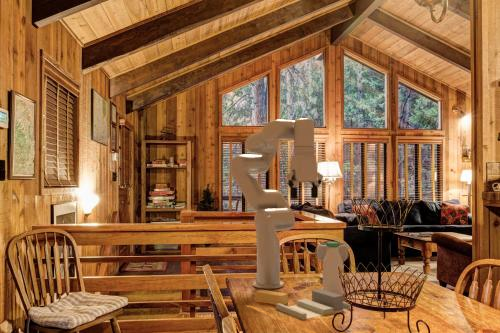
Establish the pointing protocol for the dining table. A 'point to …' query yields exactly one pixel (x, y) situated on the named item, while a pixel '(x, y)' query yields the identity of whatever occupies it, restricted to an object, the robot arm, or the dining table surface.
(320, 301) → the slate bar
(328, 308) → the slot board
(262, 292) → the ochre bar
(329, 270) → the milk bottle
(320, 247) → the chalice
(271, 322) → the dining table surface
